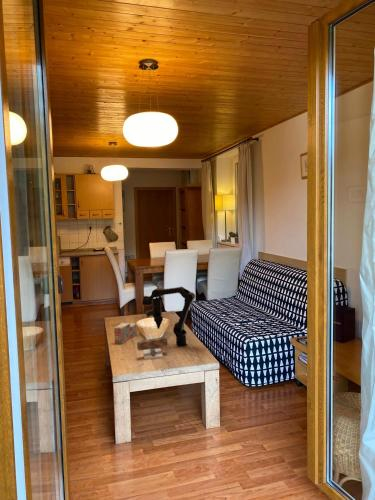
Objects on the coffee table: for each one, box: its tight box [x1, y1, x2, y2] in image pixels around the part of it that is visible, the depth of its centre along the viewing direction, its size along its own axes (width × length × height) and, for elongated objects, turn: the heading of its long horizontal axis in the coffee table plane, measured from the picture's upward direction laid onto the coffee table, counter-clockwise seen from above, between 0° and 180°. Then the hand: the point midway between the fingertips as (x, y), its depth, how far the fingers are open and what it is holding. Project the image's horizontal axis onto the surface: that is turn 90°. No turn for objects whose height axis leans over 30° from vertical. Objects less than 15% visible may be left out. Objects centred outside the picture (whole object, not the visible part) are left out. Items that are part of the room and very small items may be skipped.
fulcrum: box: [142, 347, 164, 360], centre depth 265 cm, size 12×14×6 cm
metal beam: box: [136, 336, 168, 351], centre depth 265 cm, size 20×4×5 cm, turn 116°
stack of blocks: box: [113, 322, 138, 345], centre depth 298 cm, size 21×6×12 cm, turn 157°
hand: (157, 326), depth 288 cm, fingers open, 9 cm apart
